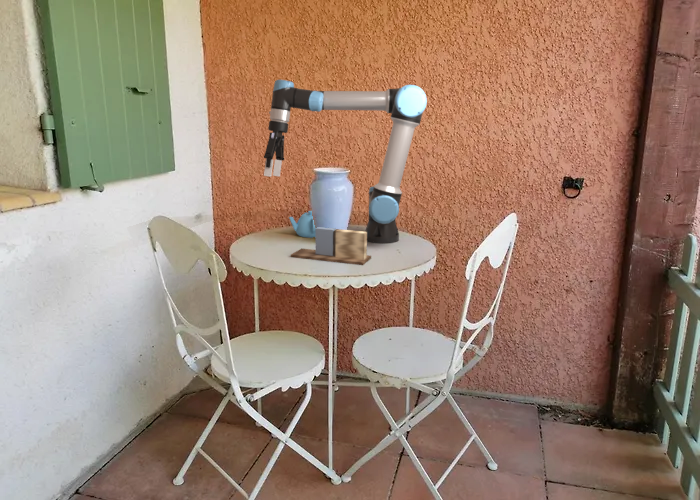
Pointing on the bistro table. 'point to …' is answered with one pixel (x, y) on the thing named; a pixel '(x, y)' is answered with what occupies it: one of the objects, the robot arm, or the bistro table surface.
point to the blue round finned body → (304, 225)
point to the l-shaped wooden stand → (342, 249)
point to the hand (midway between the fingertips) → (272, 176)
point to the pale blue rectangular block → (325, 241)
